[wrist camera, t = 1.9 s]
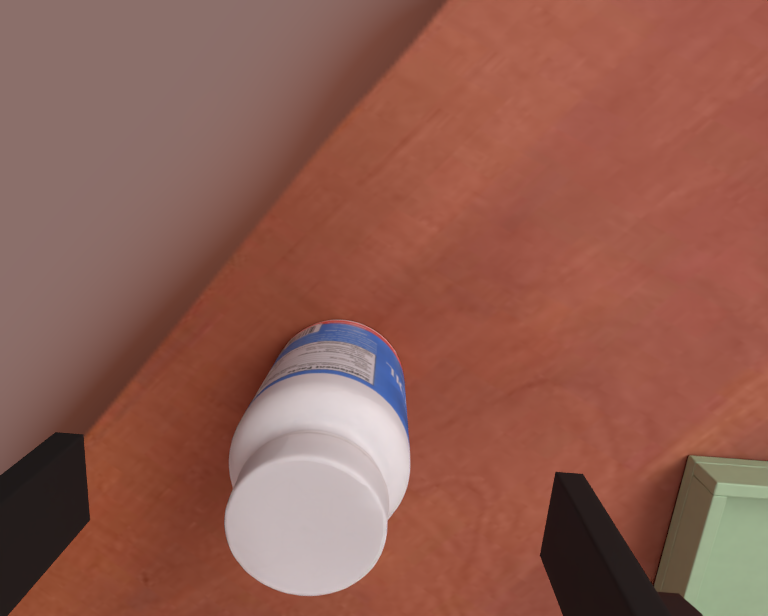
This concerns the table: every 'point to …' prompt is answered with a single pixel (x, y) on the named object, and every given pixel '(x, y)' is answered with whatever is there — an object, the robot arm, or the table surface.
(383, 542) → the pill bottle
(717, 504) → the tray
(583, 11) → the table surface
